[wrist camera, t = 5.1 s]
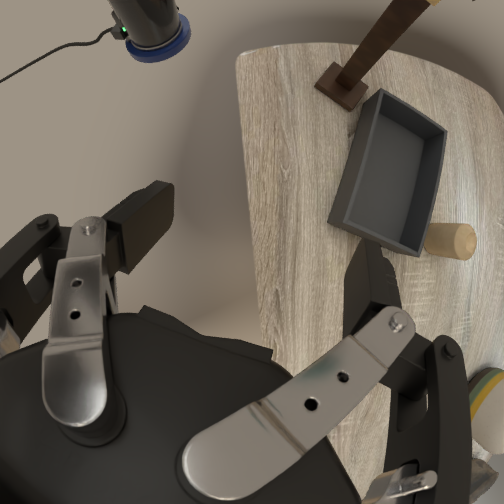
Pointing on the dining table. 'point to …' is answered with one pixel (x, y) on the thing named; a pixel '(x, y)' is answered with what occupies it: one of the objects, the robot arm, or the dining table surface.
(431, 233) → the candle
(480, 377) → the vase
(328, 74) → the stand
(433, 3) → the rattle
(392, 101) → the bin
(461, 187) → the dining table surface
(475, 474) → the dark brown chipped pot
